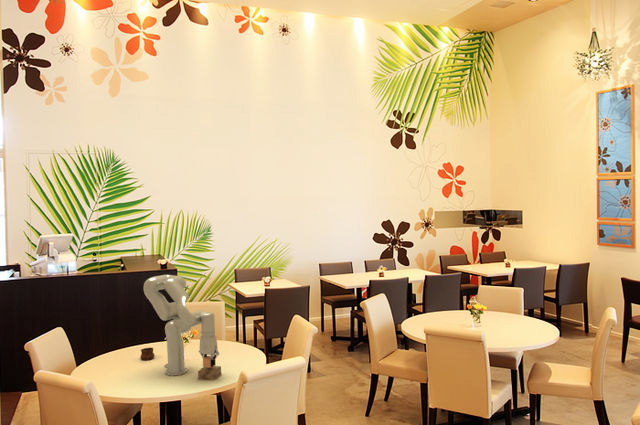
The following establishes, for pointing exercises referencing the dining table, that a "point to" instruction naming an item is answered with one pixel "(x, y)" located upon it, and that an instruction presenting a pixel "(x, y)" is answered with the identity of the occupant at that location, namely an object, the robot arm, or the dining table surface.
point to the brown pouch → (147, 354)
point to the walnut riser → (209, 373)
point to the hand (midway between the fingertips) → (209, 364)
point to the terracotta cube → (207, 361)
